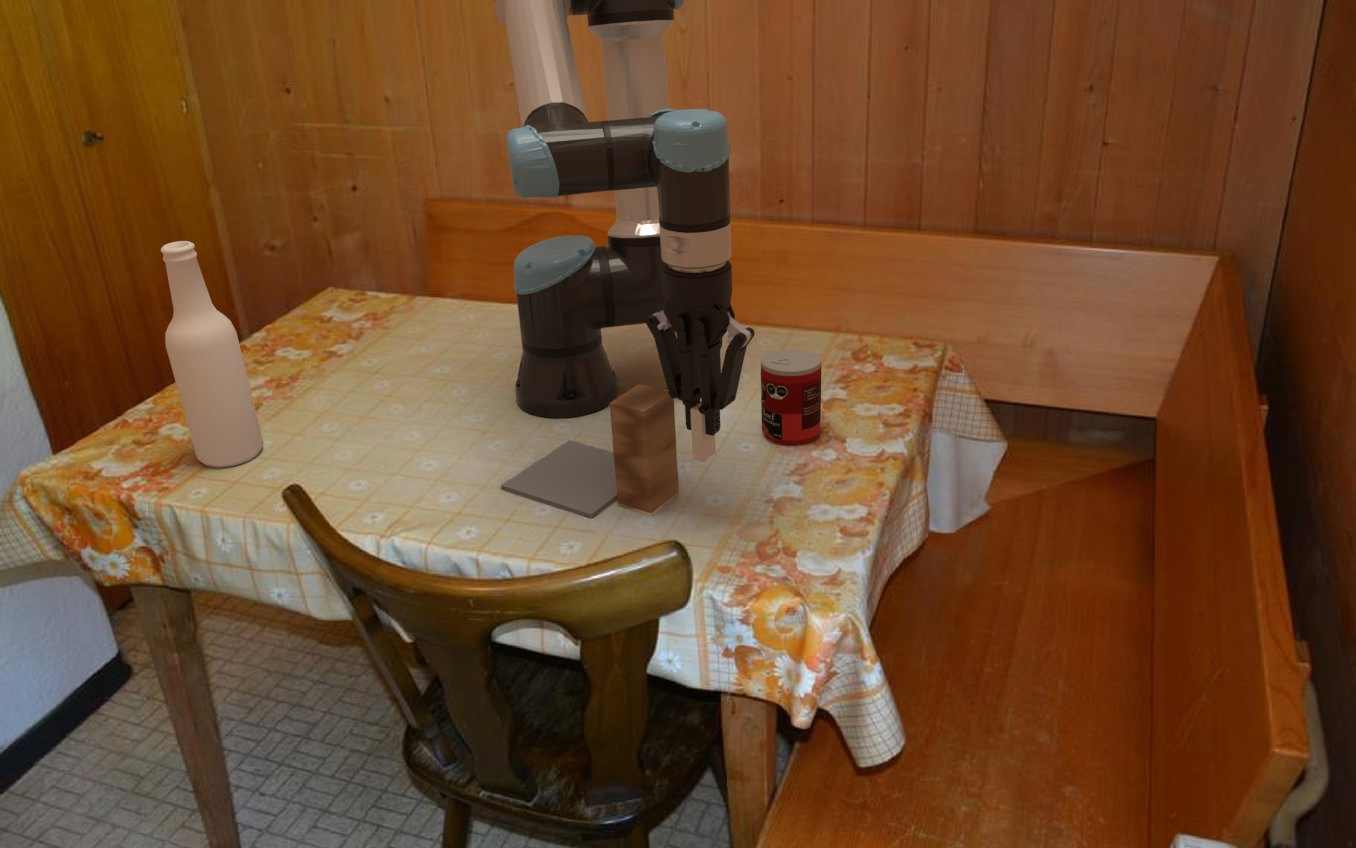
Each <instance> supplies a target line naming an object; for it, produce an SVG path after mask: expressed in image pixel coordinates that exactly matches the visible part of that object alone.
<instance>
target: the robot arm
mask: <svg viewBox="0 0 1356 848" xmlns="http://www.w3.org/2000/svg"><path fill="white" fill-rule="evenodd" d="M685 2H686V0H493V3H494V9H495V12H496V15H497V17H498V20H499V21H500V23H501V24H502V25H503V26H504V27H505V28H506V34H507V41H508V47H509V54H510V61H511V66H512V74H513V80H514V87H515V93H516V98H517V99H516V100H517V105H518V106H517V107H518V113H519V118H520V119H519V120H520V125H521V127H518V128H513V129H510V130H508V132H507V135H506V144H507V145H506V146H507V152H508V162H509V163H508V164H509V168H510V169H509V171H510V177H511V185H512V189H513V192H514V193H515V194H516V195H517V196H518V197H521V198H544V197H545V198H551V199H552V198H556V197H563V196H572V195H573V196H574V195H581V194H592V193H600V192H607V191H608V192H610V191H613V192H614V199H615V211H616V219H615V222H614V224H613V225H612V226H611V227H610V228H609V229H608V231H607V242H608V244H607V245H603V246H596V243H594V240H593V239H592V238H591V237H589V236H587V235H582V234H581V235H580V234H579V235H574V234H573V235H572V234H570V235H569V234H568V235H561V236H557V237H551V238H547V239H544V240H542V241H541V240H540V241H539V242H536V243H534V244H531V245H530V246H528V247H526V248H525V249H523V250H522V251H520V253H518V255H517V256H516V258H515V260H514V263H513V278H514V279H513V280H514V284H513V290H514V291H513V292H514V294H516V300H517V301H516V302H517V313H518V320H519V321H518V322H519V329H520V331H519V332H520V338H521V339H520V340H521V346H522V354H521V357H520V361H519V362H520V364H519V368H518V373H517V379H516V382H515V388H514V389H515V397H516V404H517V405H518V406H519V408H520V409H521V410H523V411H524V412H527V413H528V414H532V415H535V416H539V417H545V418H546V417H547V418H570V417H579V416H583V415H588V414H592V413H594V412H595V413H596V412H597V411H599V410H602V409H604V408H606V407H608V406H610V404H609V403H610V402H612V401H613V400H615V399H617V398H618V394H619V389H618V388H619V387H618V378H617V375H616V373H615V371H614V369H613V368H612V367H611V363H610V360H609V358H608V354H607V353H606V350H605V348H604V345H603V339H602V329H608V328H615V327H625V326H634V325H644V324H646V326H647V328H648V329H649V331H650V333H651V335H652V336H653V339H654V342H655V347H656V350H657V353H658V358H659V362H660V365H661V368H662V373H663V377H664V380H665V384H666V387H667V388H666V389H667V391H668V392H669V395H670V397H671V398H673V399H674V400H675V399H678V400H679V401H681V402H682V405H684V413H685V414H684V415H685V416H684V417H685V426H686V429H687V430H688V431H691V433H690V434H691V449H692V450H691V453H692V460H694V461H697V462H701V463H705V462H706V461H707V460H708V459H710V458H711V457H713V456H714V455H715V454H716V452H717V451H716V449H717V448H716V447H717V445H716V444H717V443H716V434H717V433H719V432H720V429H721V411H722V410H724V409H726V408H727V407H728V406H730V404H733V402H735V400H736V398H737V397H736V396H737V393H738V388H739V383H740V378H741V376H742V375H741V374H742V369H743V365H744V360H745V357H746V351H747V347H748V345H749V344H750V342H751V341H752V340H753V338H754V337H755V330H754V328H752V327H751V326H750V327H746V328H745V327H743V326H742V325H741V324H740V323H739V322H738V321H737V320H736V314H735V311H734V309H733V307H732V303H731V302H732V294H733V265H732V263H731V262H730V259H731V257H732V255H733V254H732V226H731V224H732V223H731V198H730V197H731V195H730V194H731V193H730V192H731V191H730V188H731V186H730V153H731V143H730V141H729V132H728V121H727V119H726V117H725V116H724V115H723V114H721V112H718V111H715V110H710V109H704V108H703V109H702V108H688V109H685V108H684V109H674V108H670V102H669V101H670V100H669V85H668V74H667V73H668V72H667V71H668V70H667V60H666V59H667V58H666V45H665V36H666V35H667V33H668V32H669V30H670V29H671V28H672V27H673V25H674V24H675V16H674V15H675V14H674V12H675V11H674V10H677V11H678V10H679V9H681V8H682V7H683V6H684V5H685ZM581 15H582V16H586V17H587V28H588V31H590V32H591V34H593V35H594V36H595V37H596V38H597V39H598V40H599V42H600V43H601V44H600V45H601V56H602V65H603V67H602V68H603V76H604V77H603V78H604V91H605V99H606V101H605V102H606V110H607V120H596V121H589V118H588V113H587V109H586V105H585V100H584V94H583V90H582V85H581V80H580V76H579V71H578V66H577V62H576V61H577V60H576V56H575V52H574V47H573V46H574V45H573V42H572V41H573V40H572V37H571V34H570V33H571V32H570V27H569V24H568V23H569V22H568V19H567V18H568V17H569V16H581ZM726 333H727V334H728V335H727V339H726V343H727V344H728V345H727V347H726V350H725V353H724V358H723V363H722V362H721V361H722V360H721V349H722V347H723V337H724V336H725V334H726ZM721 363H722V364H721ZM721 367H722V368H721Z"/></svg>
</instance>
